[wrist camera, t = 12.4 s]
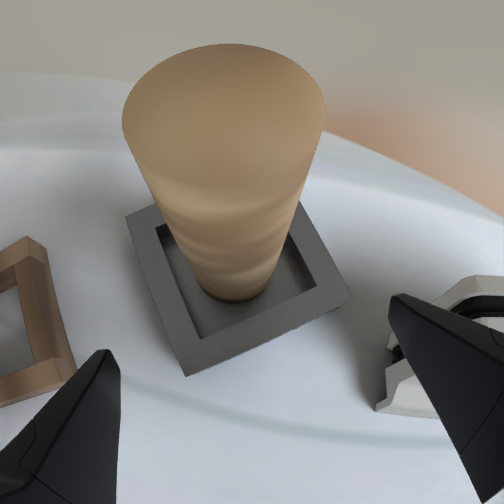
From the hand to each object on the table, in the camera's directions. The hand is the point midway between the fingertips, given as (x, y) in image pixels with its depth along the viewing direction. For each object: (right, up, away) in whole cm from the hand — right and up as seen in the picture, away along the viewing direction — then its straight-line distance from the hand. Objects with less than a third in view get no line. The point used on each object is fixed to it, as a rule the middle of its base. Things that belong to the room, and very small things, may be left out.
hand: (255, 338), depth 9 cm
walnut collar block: (-16, -3, +7) cm, 18 cm away
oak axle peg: (-1, +2, +9) cm, 9 cm away
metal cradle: (-1, +2, +9) cm, 10 cm away
